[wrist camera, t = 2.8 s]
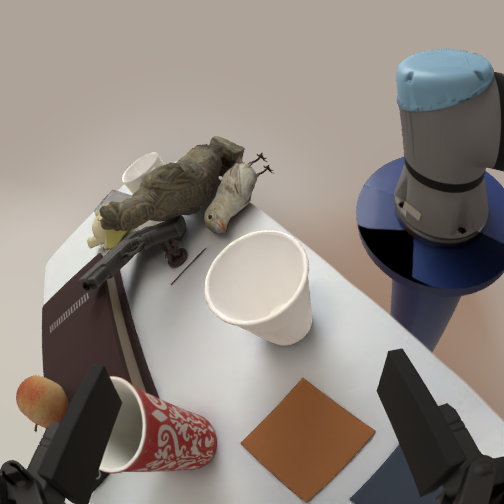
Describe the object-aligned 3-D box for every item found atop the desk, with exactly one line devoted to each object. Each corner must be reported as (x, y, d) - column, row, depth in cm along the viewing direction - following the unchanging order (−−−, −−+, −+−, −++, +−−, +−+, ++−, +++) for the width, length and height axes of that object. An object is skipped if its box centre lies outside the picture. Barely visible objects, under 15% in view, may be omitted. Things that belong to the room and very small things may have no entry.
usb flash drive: (106, 472, 28) (111, 472, 28) (89, 445, 31) (94, 446, 32) (82, 498, 25) (86, 498, 26) (67, 473, 29) (72, 473, 29)
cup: (263, 282, 39) (227, 228, 31) (337, 290, 34) (319, 231, 26) (237, 352, 34) (187, 313, 26) (316, 370, 29) (289, 335, 21)
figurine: (206, 248, 47) (193, 232, 44) (171, 285, 45) (156, 271, 42) (189, 236, 50) (176, 221, 47) (157, 270, 48) (142, 256, 46)
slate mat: (416, 421, 22) (417, 421, 21) (484, 463, 15) (485, 463, 15) (349, 498, 19) (349, 499, 19) (419, 541, 13) (419, 542, 13)
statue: (237, 189, 62) (141, 276, 41) (202, 168, 63) (98, 242, 42) (255, 145, 54) (147, 222, 33) (216, 124, 55) (96, 186, 34)
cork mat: (303, 378, 29) (302, 377, 29) (375, 431, 23) (375, 431, 23) (241, 443, 27) (240, 443, 27) (306, 501, 21) (306, 502, 20)
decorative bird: (233, 243, 46) (201, 235, 51) (279, 171, 51) (247, 169, 56) (215, 221, 42) (184, 215, 47) (267, 148, 47) (234, 148, 52)
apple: (83, 396, 29) (62, 447, 23) (72, 399, 34) (54, 442, 27) (31, 360, 26) (6, 412, 20) (28, 369, 31) (7, 412, 24)
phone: (115, 192, 76) (112, 189, 75) (139, 200, 66) (136, 196, 65) (96, 213, 74) (93, 210, 73) (117, 226, 64) (114, 222, 63)
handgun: (141, 286, 36) (84, 295, 40) (191, 226, 53) (140, 240, 56) (131, 267, 35) (75, 280, 38) (185, 212, 52) (134, 227, 55)
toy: (83, 214, 61) (121, 173, 56) (106, 224, 67) (144, 187, 62) (81, 260, 54) (122, 219, 50) (107, 270, 60) (149, 233, 55)
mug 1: (141, 205, 64) (117, 176, 58) (170, 179, 66) (148, 149, 59) (160, 223, 56) (133, 190, 50) (194, 192, 58) (170, 158, 52)
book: (59, 323, 51) (38, 310, 47) (119, 270, 53) (99, 252, 49) (76, 446, 32) (47, 439, 28) (159, 398, 34) (128, 387, 29)
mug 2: (207, 393, 32) (129, 358, 22) (237, 459, 26) (158, 457, 16) (134, 431, 32) (52, 406, 22) (154, 490, 26) (66, 486, 16)
